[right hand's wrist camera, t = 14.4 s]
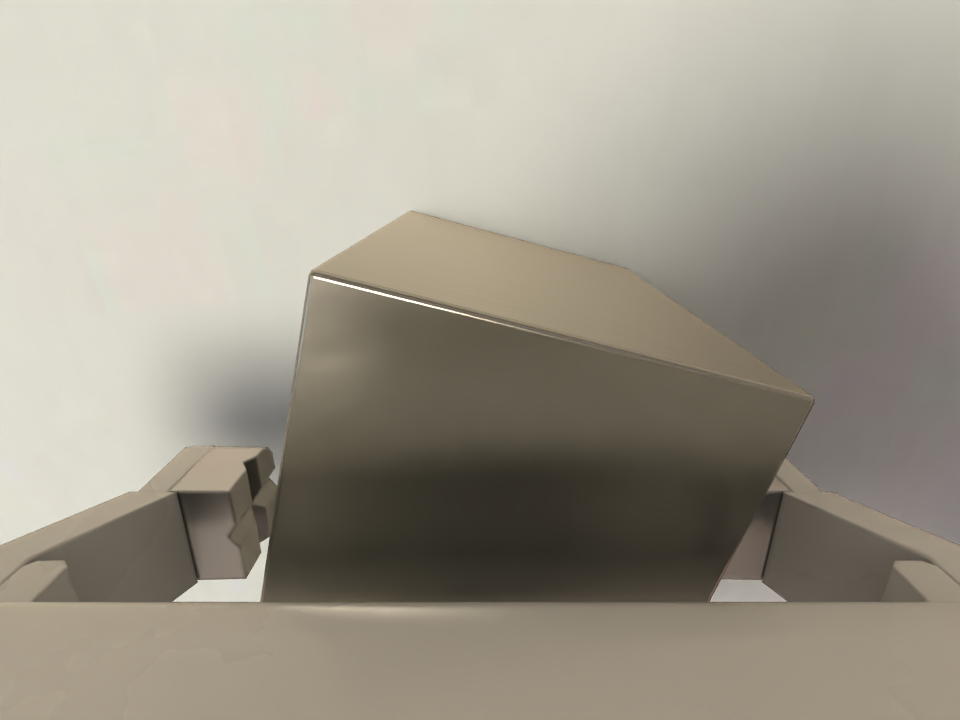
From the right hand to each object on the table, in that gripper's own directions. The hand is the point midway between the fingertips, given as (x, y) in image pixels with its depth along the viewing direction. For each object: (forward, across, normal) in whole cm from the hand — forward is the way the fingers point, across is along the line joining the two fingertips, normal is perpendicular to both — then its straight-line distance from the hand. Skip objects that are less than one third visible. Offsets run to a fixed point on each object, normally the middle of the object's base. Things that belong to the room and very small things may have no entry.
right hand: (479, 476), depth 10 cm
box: (+5, -2, -6) cm, 8 cm away
